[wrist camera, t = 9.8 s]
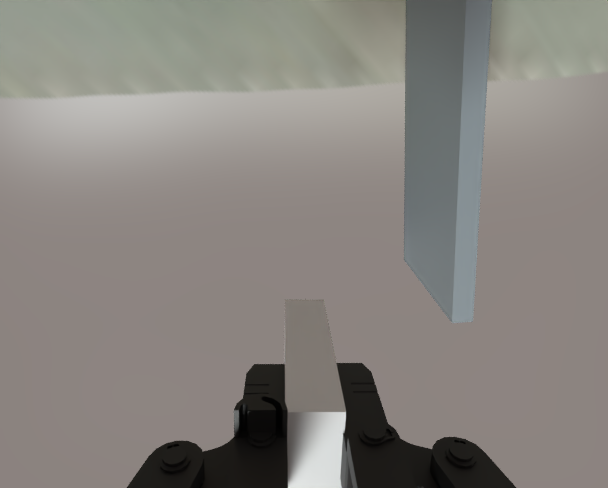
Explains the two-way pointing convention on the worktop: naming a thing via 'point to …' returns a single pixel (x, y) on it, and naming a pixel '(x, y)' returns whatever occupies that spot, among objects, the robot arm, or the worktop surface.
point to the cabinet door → (445, 146)
